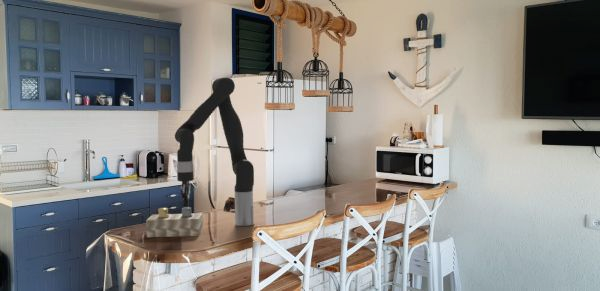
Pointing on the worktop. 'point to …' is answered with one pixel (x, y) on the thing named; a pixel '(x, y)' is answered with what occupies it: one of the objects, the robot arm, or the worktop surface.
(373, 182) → the worktop surface
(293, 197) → the worktop surface
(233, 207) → the pottery mug
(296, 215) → the worktop surface
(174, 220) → the ash socket block
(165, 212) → the brass peg
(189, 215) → the steel peg
